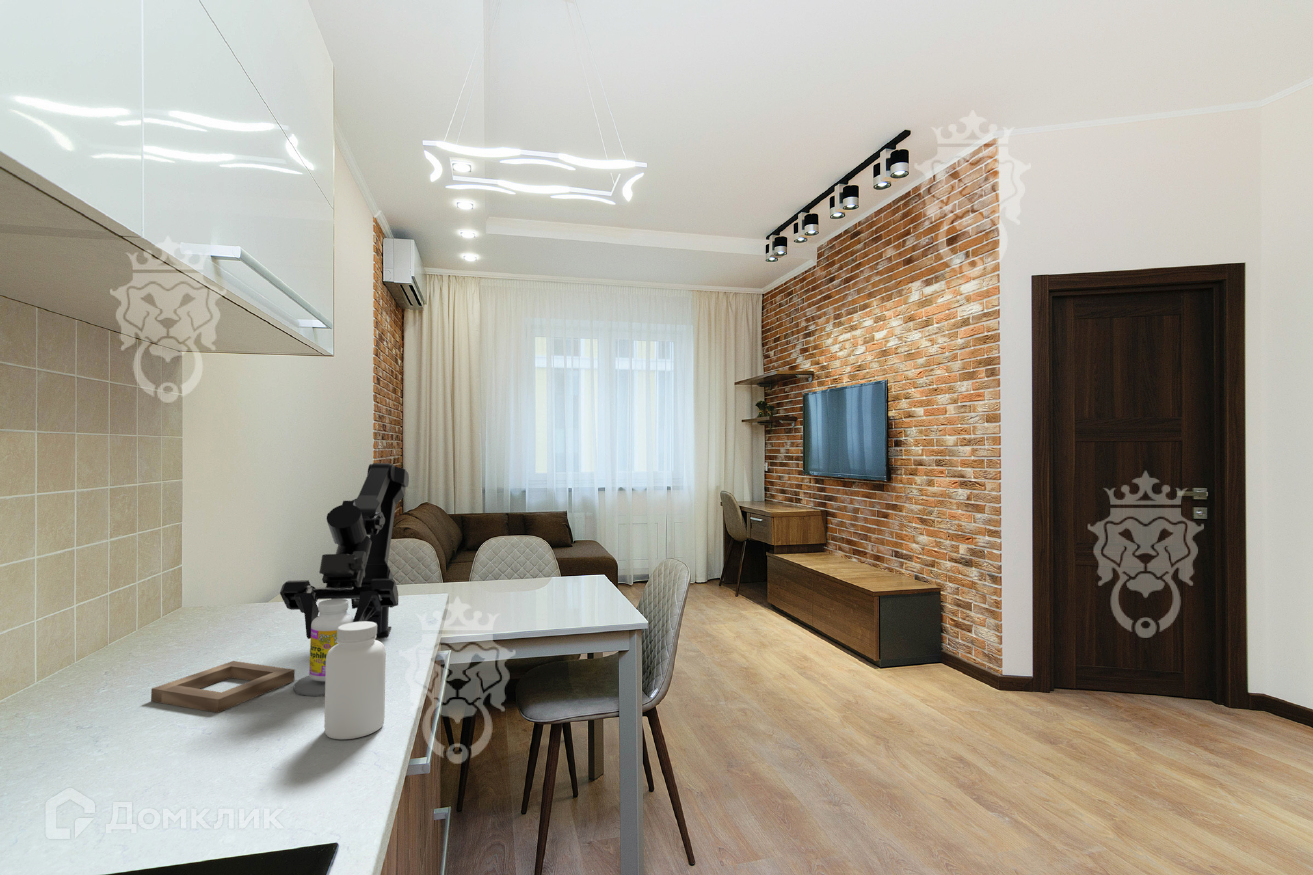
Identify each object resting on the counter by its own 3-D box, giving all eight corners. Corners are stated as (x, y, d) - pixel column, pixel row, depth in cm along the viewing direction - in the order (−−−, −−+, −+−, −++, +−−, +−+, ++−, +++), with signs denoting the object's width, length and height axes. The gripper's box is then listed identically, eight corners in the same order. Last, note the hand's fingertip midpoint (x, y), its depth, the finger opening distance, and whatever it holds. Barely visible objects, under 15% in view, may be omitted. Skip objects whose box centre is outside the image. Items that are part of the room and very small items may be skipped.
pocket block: (232, 671, 112) (233, 660, 112) (294, 680, 108) (294, 669, 108) (150, 701, 98) (151, 688, 99) (217, 712, 95) (218, 699, 95)
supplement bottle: (299, 679, 105) (302, 604, 105) (331, 666, 111) (333, 595, 112) (330, 685, 103) (332, 608, 103) (360, 671, 109) (363, 599, 110)
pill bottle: (354, 713, 95) (357, 616, 96) (396, 722, 92) (399, 621, 93) (310, 735, 88) (313, 629, 88) (354, 745, 85) (357, 635, 85)
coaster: (302, 675, 111) (303, 672, 111) (369, 670, 114) (369, 667, 114) (285, 699, 100) (285, 695, 100) (359, 692, 103) (359, 688, 103)
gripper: (285, 535, 110) (256, 614, 99) (396, 534, 113) (380, 610, 102) (300, 571, 117) (275, 647, 106) (404, 569, 121) (389, 643, 110)
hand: (329, 636), depth 106 cm, fingers closed on supplement bottle, 6 cm apart
